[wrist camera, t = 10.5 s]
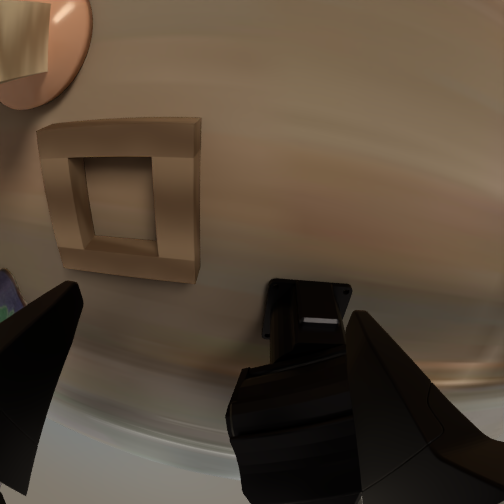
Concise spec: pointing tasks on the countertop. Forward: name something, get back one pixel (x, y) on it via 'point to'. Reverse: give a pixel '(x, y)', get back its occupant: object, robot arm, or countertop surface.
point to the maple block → (23, 39)
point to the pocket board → (164, 189)
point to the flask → (9, 295)
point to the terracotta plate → (55, 56)
